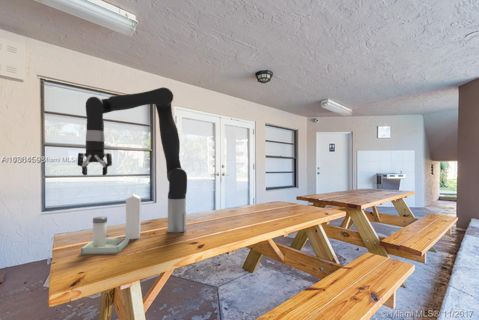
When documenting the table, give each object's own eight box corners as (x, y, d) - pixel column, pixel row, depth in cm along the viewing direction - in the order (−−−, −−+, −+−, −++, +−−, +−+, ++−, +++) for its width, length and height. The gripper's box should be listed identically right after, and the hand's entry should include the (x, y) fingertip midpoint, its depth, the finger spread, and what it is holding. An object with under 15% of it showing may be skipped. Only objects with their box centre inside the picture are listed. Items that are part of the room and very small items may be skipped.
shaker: (108, 246, 103) (109, 216, 104) (102, 250, 98) (103, 219, 98) (95, 246, 103) (96, 216, 103) (89, 250, 98) (90, 219, 98)
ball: (123, 243, 107) (124, 236, 107) (121, 245, 104) (121, 238, 104) (116, 243, 107) (116, 236, 107) (114, 245, 104) (114, 238, 104)
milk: (125, 239, 114) (125, 192, 114) (127, 235, 120) (127, 191, 120) (139, 238, 116) (139, 192, 116) (140, 234, 121) (140, 190, 121)
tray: (128, 243, 109) (128, 237, 109) (118, 253, 97) (118, 247, 97) (95, 244, 107) (95, 238, 107) (80, 254, 95) (80, 248, 95)
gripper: (74, 139, 110) (74, 175, 110) (107, 140, 111) (107, 175, 111) (83, 141, 117) (83, 174, 117) (114, 141, 119) (114, 174, 118)
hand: (94, 175), depth 114 cm, fingers open, 8 cm apart
